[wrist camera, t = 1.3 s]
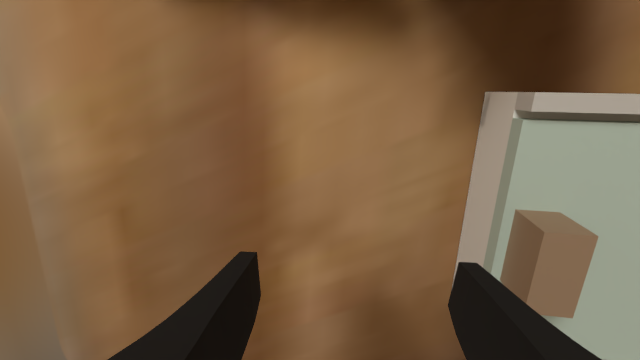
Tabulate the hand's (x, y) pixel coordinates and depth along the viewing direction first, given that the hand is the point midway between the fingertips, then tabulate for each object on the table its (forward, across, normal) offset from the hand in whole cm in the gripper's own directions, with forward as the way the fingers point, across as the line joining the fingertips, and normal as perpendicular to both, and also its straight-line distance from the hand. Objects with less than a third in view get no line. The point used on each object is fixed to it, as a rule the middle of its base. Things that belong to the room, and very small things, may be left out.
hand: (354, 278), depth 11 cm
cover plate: (+5, -15, +2) cm, 16 cm away
